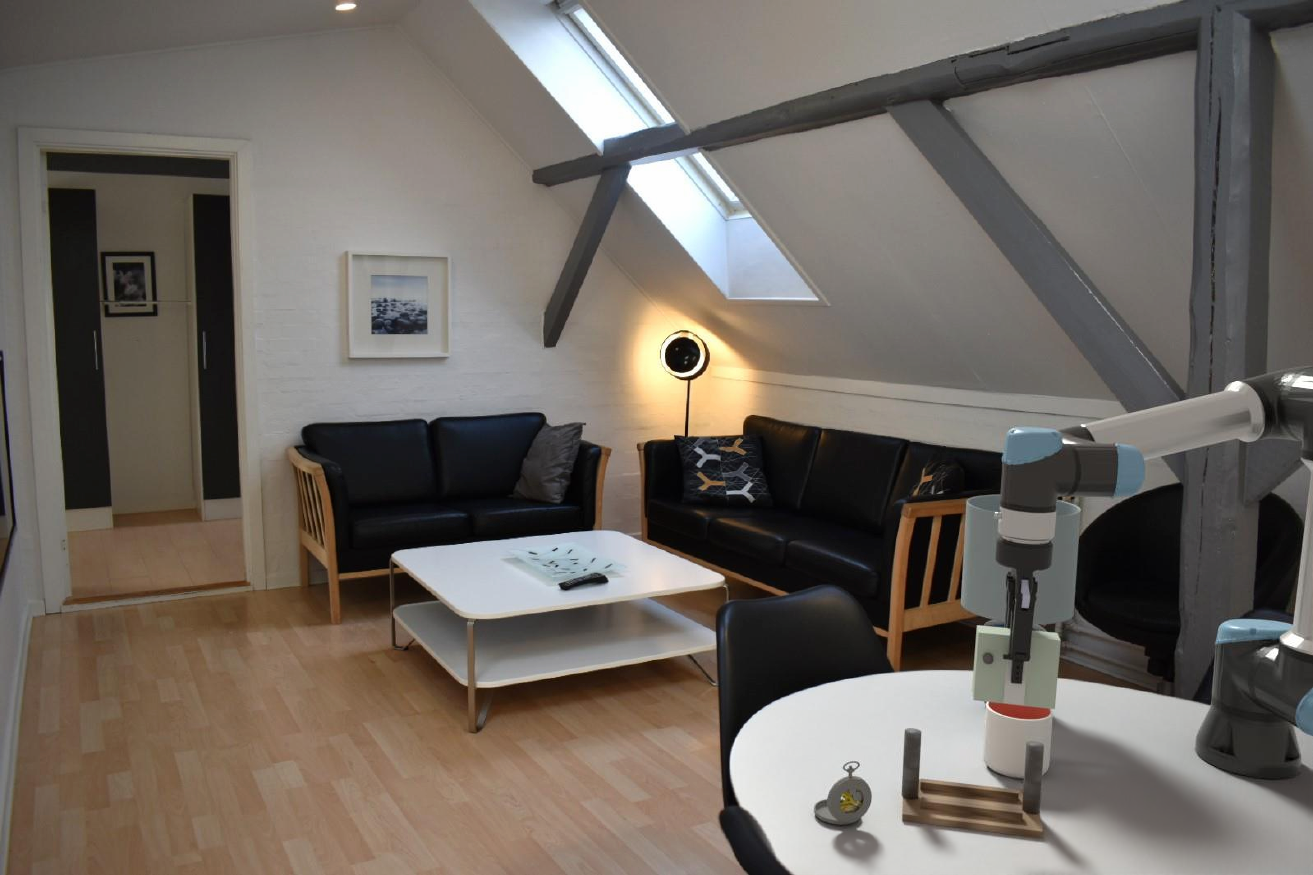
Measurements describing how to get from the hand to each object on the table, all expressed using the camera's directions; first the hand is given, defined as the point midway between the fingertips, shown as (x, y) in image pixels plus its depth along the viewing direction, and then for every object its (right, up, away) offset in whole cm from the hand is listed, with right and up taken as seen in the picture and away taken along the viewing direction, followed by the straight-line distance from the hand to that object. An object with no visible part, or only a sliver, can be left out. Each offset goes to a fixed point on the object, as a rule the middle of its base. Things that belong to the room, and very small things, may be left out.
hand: (1012, 697), depth 152 cm
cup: (+6, -16, +17) cm, 24 cm away
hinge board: (-5, -17, +3) cm, 18 cm away
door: (0, 0, 0) cm, 0 cm away
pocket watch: (-25, -18, 0) cm, 30 cm away
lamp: (+14, -12, +42) cm, 46 cm away
